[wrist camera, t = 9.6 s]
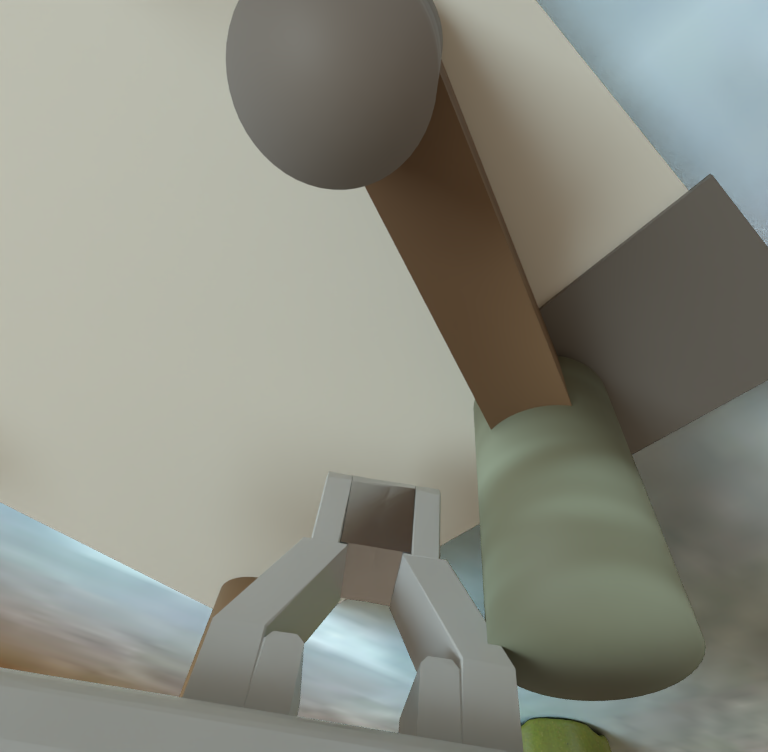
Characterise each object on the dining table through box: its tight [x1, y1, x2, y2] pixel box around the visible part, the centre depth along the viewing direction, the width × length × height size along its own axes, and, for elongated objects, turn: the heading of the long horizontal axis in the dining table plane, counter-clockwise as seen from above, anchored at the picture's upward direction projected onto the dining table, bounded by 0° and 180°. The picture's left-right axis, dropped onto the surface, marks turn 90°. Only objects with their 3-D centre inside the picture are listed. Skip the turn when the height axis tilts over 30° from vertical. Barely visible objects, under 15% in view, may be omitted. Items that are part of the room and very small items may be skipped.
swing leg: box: [226, 0, 705, 701], centre depth 8 cm, size 3×10×6 cm, turn 27°
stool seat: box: [0, 0, 768, 697], centre depth 12 cm, size 20×20×6 cm
